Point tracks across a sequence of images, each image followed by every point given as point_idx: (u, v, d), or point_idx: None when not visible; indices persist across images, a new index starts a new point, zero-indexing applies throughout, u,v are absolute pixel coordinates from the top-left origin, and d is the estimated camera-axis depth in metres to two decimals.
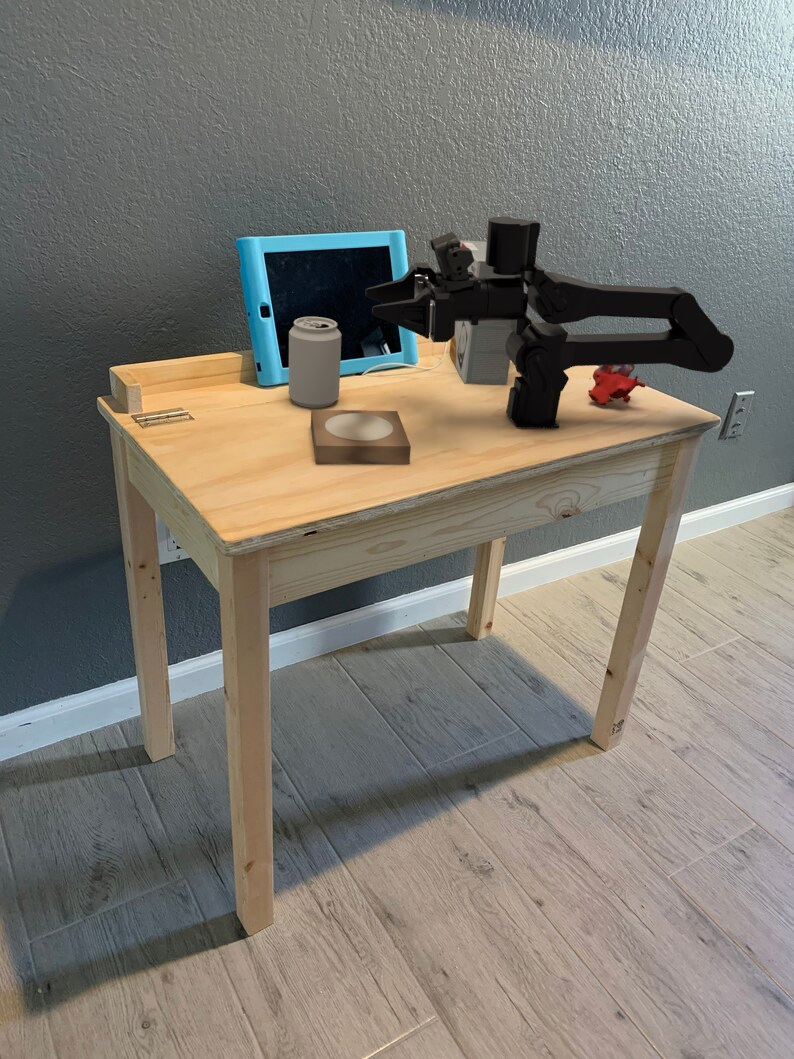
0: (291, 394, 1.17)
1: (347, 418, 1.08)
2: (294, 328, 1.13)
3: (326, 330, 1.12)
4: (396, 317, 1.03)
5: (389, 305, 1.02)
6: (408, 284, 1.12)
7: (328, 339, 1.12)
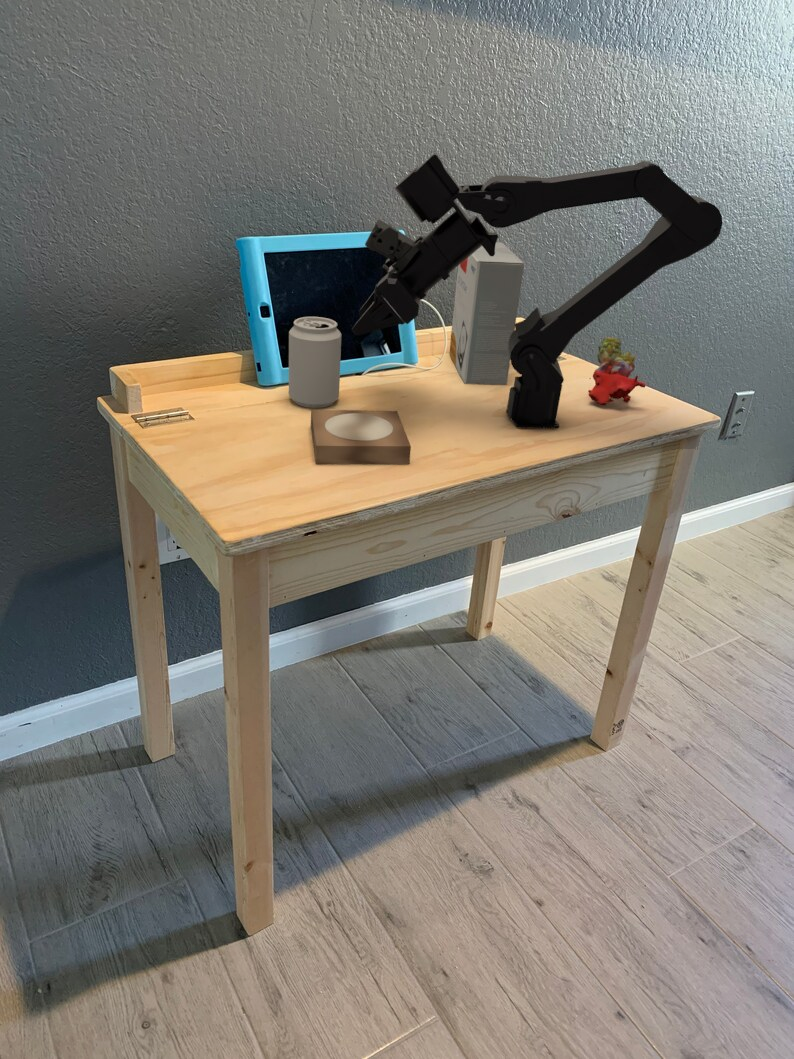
0: (291, 394, 1.17)
1: (347, 418, 1.08)
2: (294, 328, 1.13)
3: (326, 330, 1.12)
4: (372, 324, 1.08)
5: (360, 319, 1.08)
6: None
7: (328, 339, 1.12)
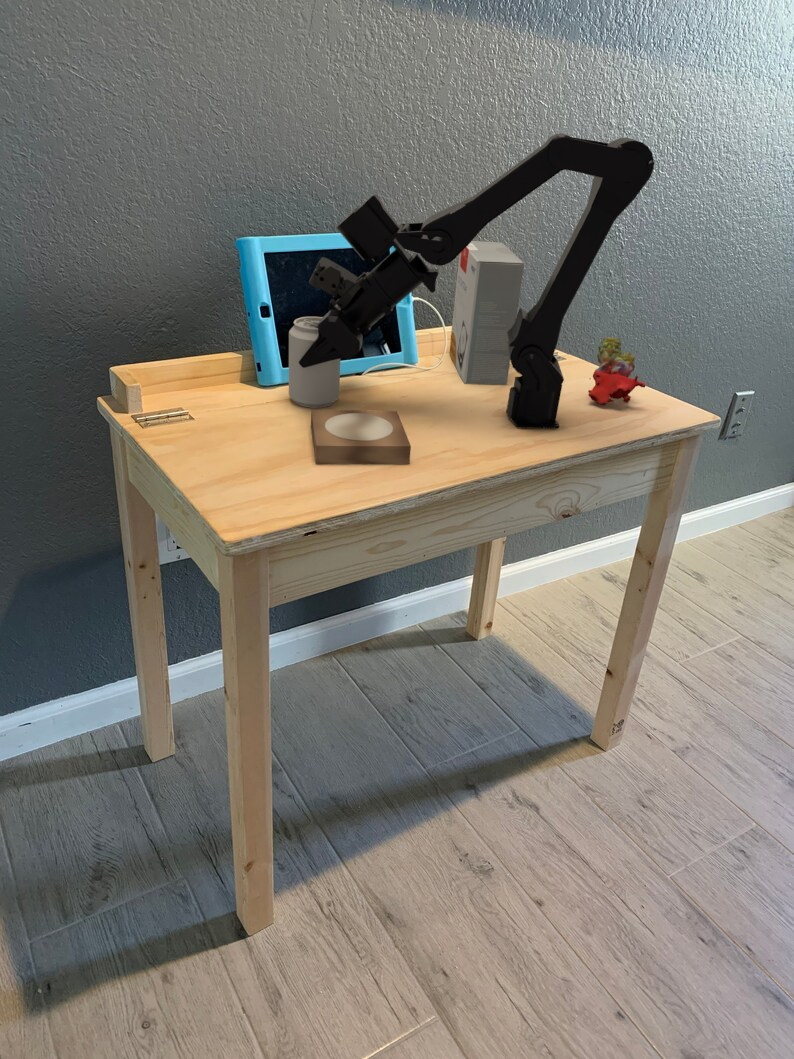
0: (291, 394, 1.17)
1: (347, 418, 1.08)
2: (294, 328, 1.13)
3: None
4: (317, 357, 1.11)
5: (306, 353, 1.12)
6: None
7: None
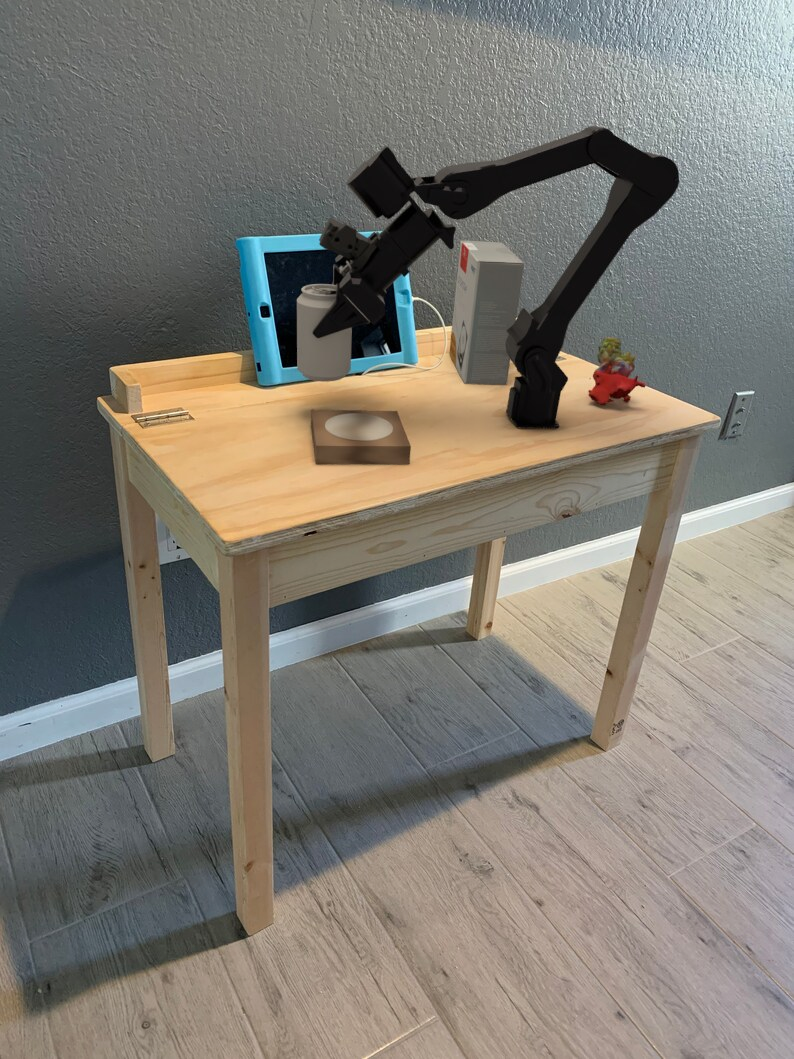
0: (302, 368, 1.09)
1: (347, 418, 1.08)
2: (303, 296, 1.06)
3: None
4: (334, 326, 1.04)
5: (321, 321, 1.04)
6: (340, 283, 1.10)
7: None
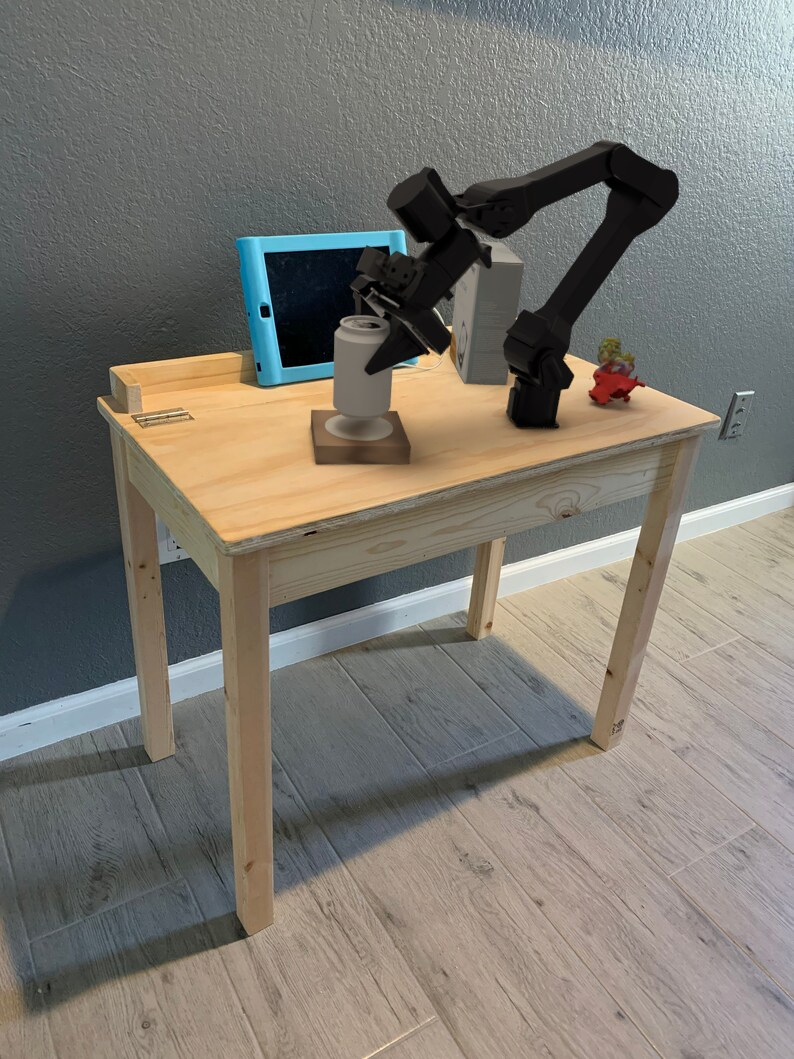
0: (347, 409, 1.01)
1: (347, 418, 1.08)
2: (347, 332, 0.97)
3: (386, 329, 0.98)
4: (389, 360, 0.97)
5: (376, 357, 0.97)
6: (367, 312, 1.03)
7: None
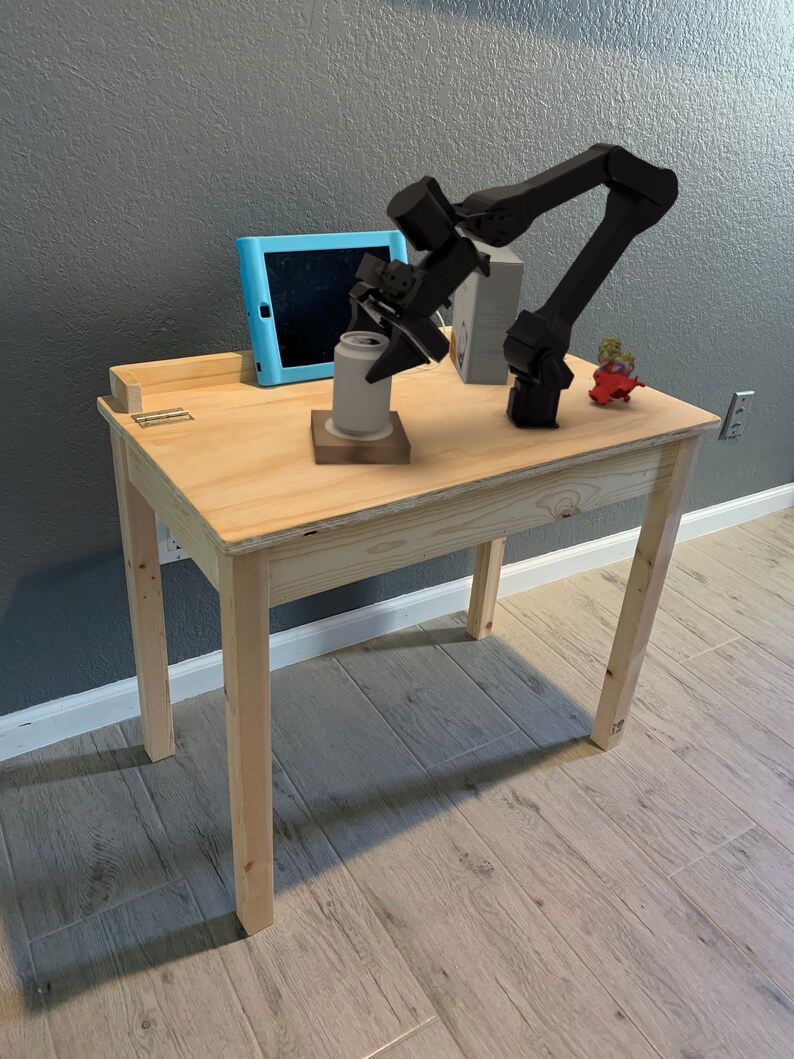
0: (345, 424, 1.02)
1: None
2: (347, 348, 0.98)
3: (386, 345, 0.99)
4: (390, 369, 0.97)
5: (377, 366, 0.96)
6: (363, 318, 1.04)
7: None
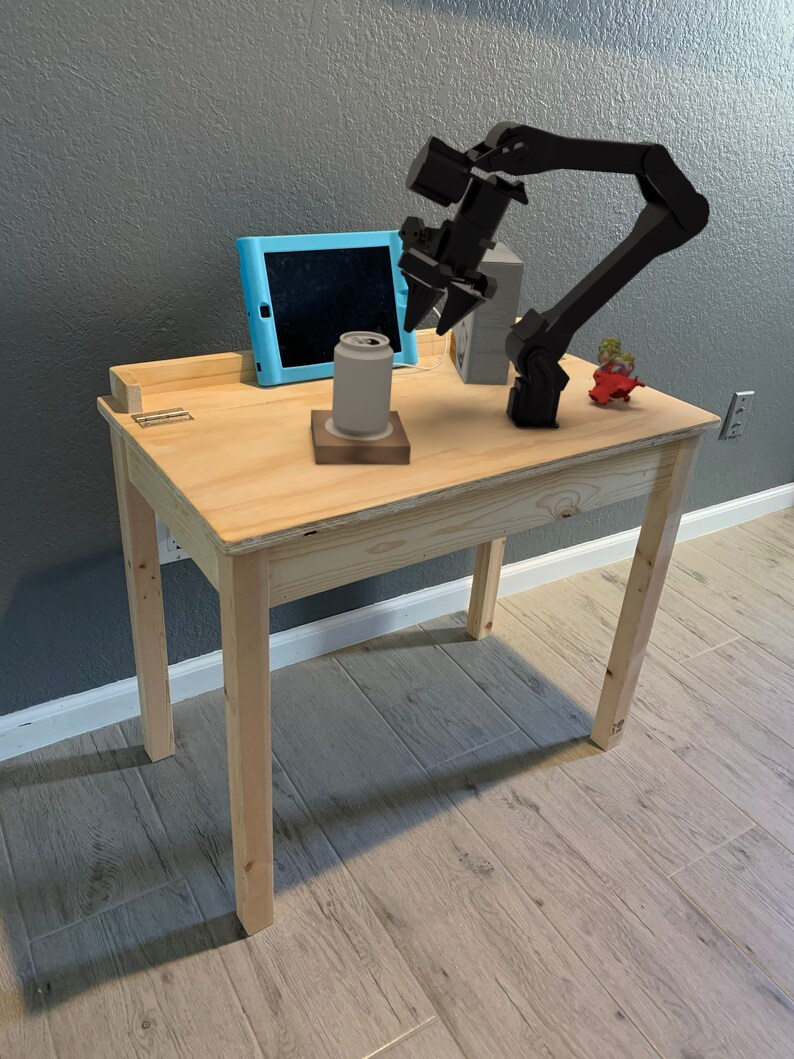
0: (345, 424, 1.02)
1: None
2: (347, 348, 0.98)
3: (386, 345, 0.99)
4: (416, 312, 1.03)
5: (405, 313, 1.04)
6: (453, 292, 1.12)
7: (390, 355, 0.99)
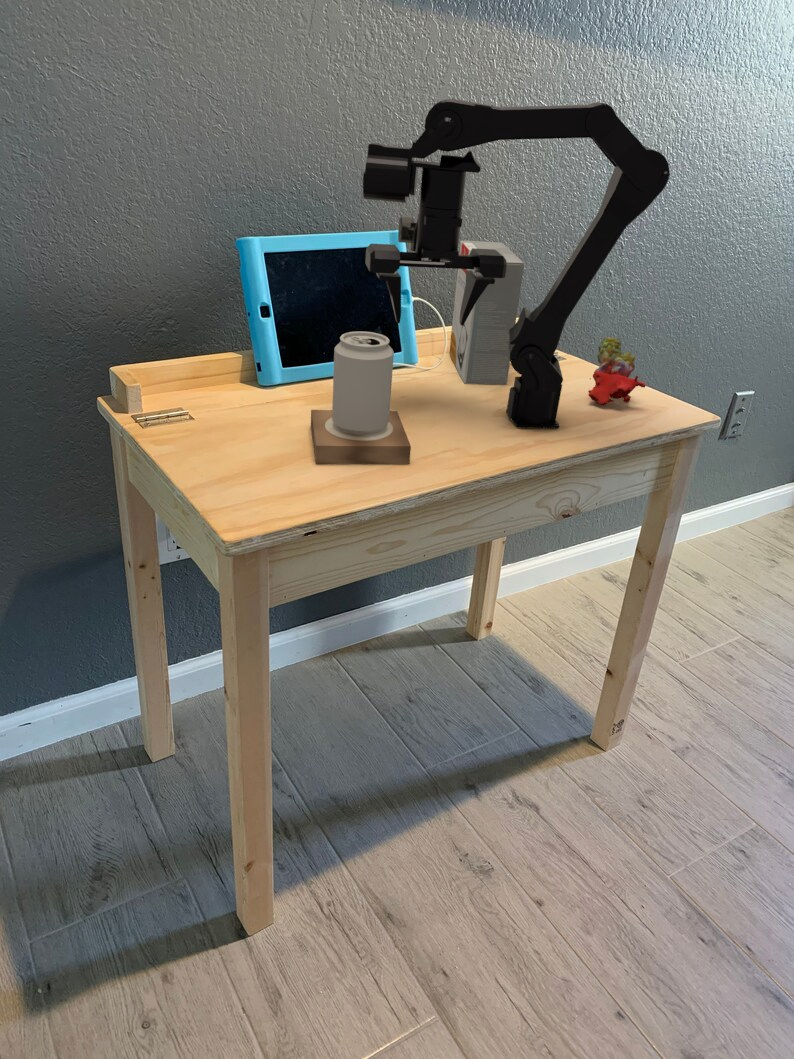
0: (345, 424, 1.02)
1: None
2: (347, 348, 0.98)
3: (386, 345, 0.99)
4: (392, 302, 1.10)
5: (393, 305, 1.12)
6: (467, 279, 1.12)
7: (390, 355, 0.99)
